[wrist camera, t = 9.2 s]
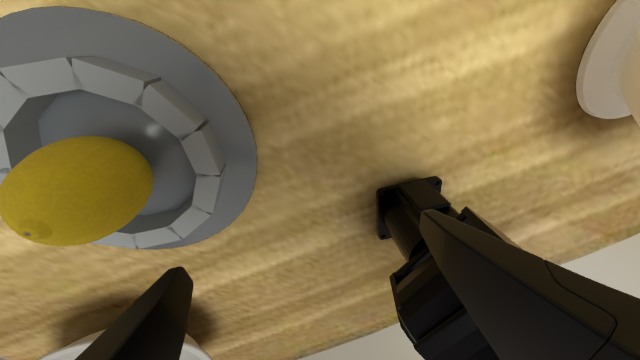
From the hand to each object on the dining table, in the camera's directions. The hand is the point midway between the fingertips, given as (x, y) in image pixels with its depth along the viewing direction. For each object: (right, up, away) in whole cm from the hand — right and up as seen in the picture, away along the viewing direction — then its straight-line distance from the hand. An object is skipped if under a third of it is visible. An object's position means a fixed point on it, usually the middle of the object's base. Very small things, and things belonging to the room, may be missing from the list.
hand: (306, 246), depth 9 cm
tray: (-14, +4, +9) cm, 17 cm away
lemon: (-13, +4, +8) cm, 16 cm away
